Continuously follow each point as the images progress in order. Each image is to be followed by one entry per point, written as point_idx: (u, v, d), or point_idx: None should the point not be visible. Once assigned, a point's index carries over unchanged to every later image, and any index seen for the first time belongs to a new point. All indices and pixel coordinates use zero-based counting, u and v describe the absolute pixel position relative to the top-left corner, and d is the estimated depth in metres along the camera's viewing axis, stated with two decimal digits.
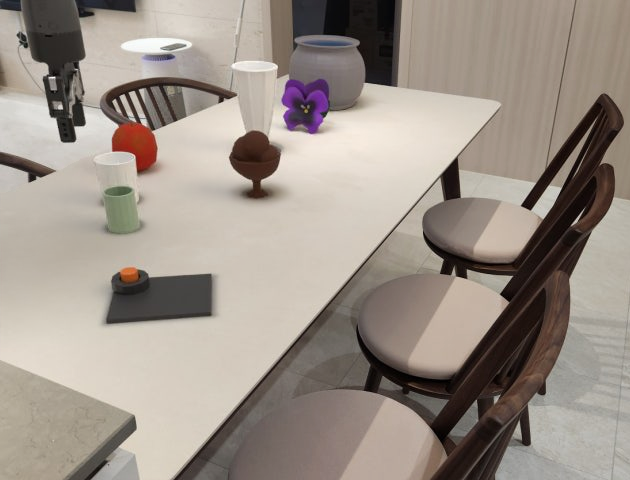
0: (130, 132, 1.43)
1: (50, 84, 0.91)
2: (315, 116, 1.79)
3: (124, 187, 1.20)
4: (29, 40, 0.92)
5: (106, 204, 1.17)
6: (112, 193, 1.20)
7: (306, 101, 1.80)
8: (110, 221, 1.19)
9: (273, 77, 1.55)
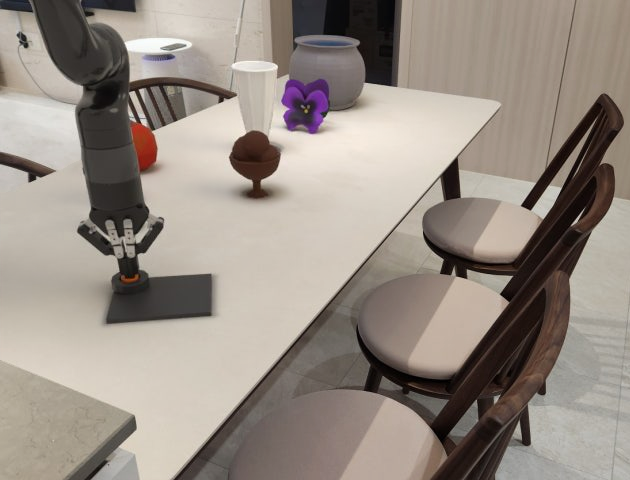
0: None
1: None
2: (315, 116, 1.79)
3: None
4: None
5: None
6: None
7: (306, 101, 1.80)
8: None
9: (273, 77, 1.55)
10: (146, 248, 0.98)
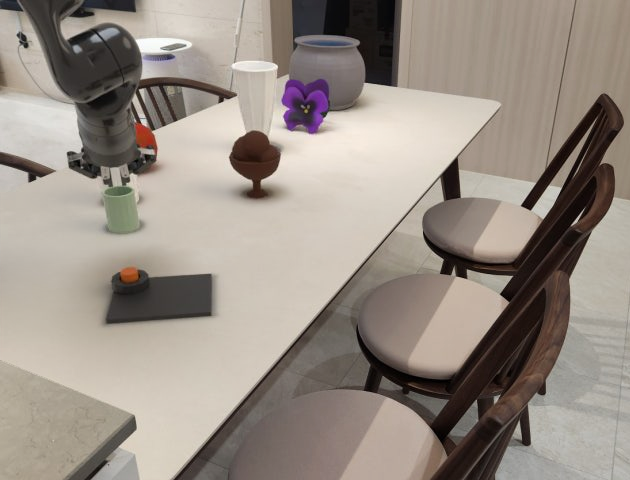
0: None
1: None
2: (315, 116, 1.79)
3: (124, 187, 1.20)
4: None
5: (106, 204, 1.17)
6: (112, 193, 1.20)
7: (306, 101, 1.80)
8: (110, 221, 1.19)
9: (273, 77, 1.55)
10: (141, 172, 1.03)
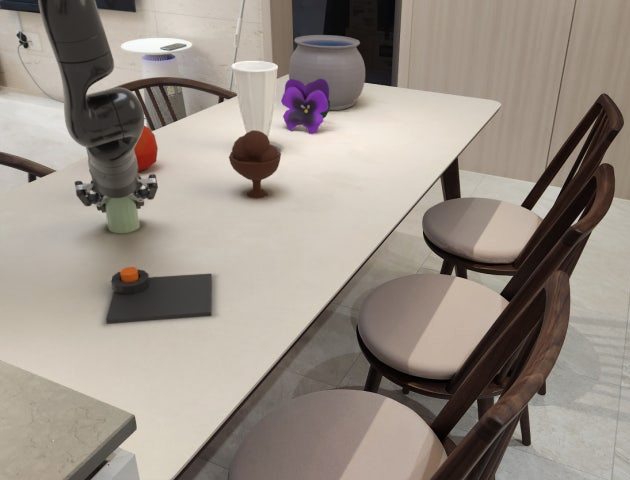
0: None
1: None
2: (315, 116, 1.79)
3: None
4: None
5: (106, 204, 1.17)
6: None
7: (306, 101, 1.80)
8: (110, 221, 1.19)
9: (273, 77, 1.55)
10: (153, 197, 1.18)
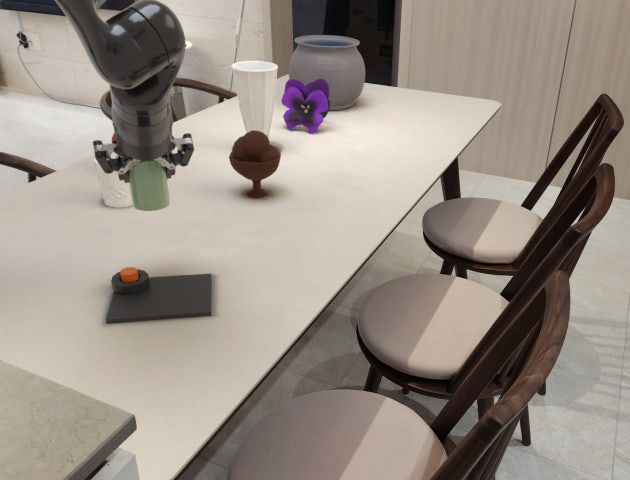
0: None
1: None
2: (315, 116, 1.79)
3: None
4: None
5: (130, 171, 0.96)
6: None
7: (306, 101, 1.80)
8: (135, 192, 0.97)
9: (273, 77, 1.55)
10: None
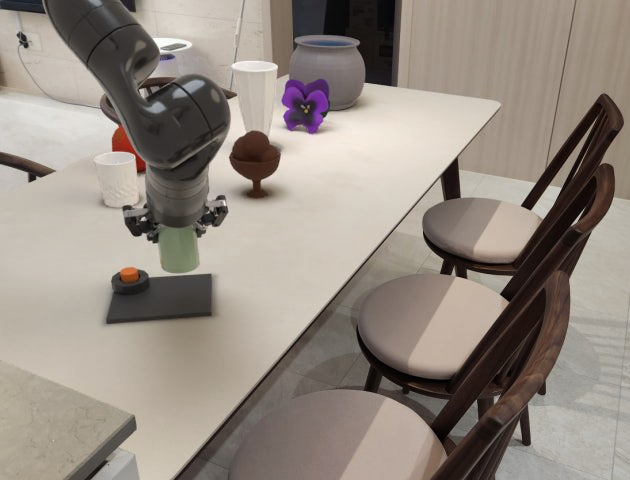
0: None
1: None
2: (315, 116, 1.79)
3: None
4: None
5: (160, 233, 0.90)
6: None
7: (306, 101, 1.80)
8: (164, 255, 0.92)
9: (273, 77, 1.55)
10: (220, 224, 0.92)
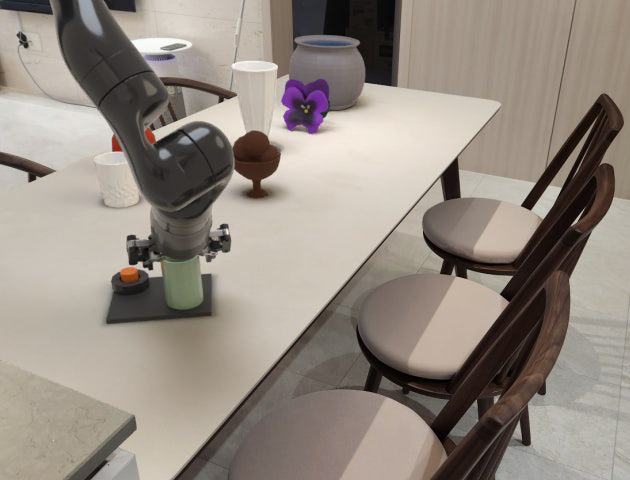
0: None
1: (127, 244, 0.86)
2: (315, 116, 1.79)
3: None
4: None
5: (165, 272, 0.94)
6: None
7: (306, 101, 1.80)
8: (169, 292, 0.95)
9: (273, 77, 1.55)
10: None
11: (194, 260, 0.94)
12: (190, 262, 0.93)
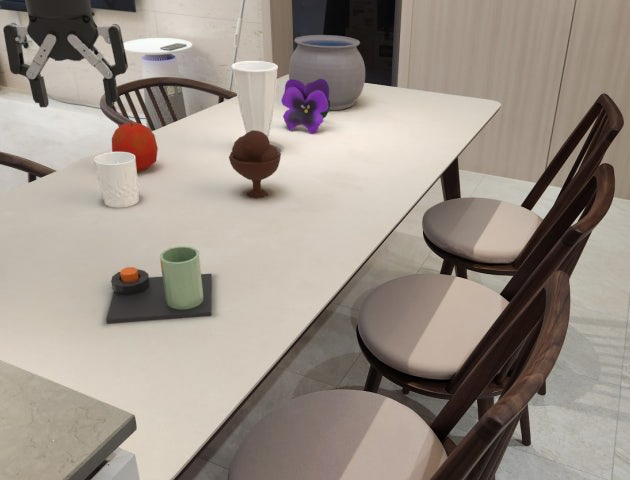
0: (130, 132, 1.43)
1: None
2: (315, 116, 1.79)
3: (185, 248, 0.97)
4: None
5: (165, 272, 0.94)
6: (170, 256, 0.96)
7: (306, 101, 1.80)
8: (169, 292, 0.95)
9: (273, 77, 1.55)
10: (125, 67, 0.85)
11: (194, 260, 0.94)
12: (190, 262, 0.93)
